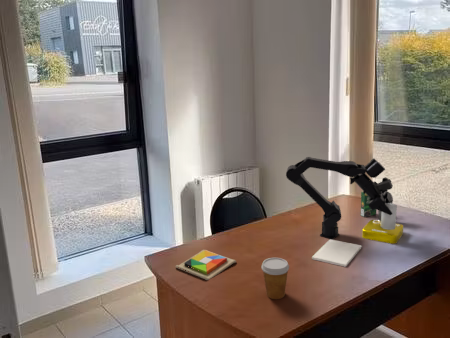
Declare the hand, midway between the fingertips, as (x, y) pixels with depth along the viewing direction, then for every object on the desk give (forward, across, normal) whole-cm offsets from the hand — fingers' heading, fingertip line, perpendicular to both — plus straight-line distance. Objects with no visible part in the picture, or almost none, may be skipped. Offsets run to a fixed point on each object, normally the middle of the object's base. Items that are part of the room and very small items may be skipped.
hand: (392, 212), depth 190 cm
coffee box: (0, +28, +19) cm, 34 cm away
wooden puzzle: (-36, -49, +56) cm, 83 cm away
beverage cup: (+6, +22, +13) cm, 26 cm away
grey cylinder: (+4, 0, +6) cm, 7 cm away
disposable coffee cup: (-13, -60, +32) cm, 70 cm away
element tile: (+7, +5, +13) cm, 16 cm away
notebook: (-4, -20, +23) cm, 31 cm away
